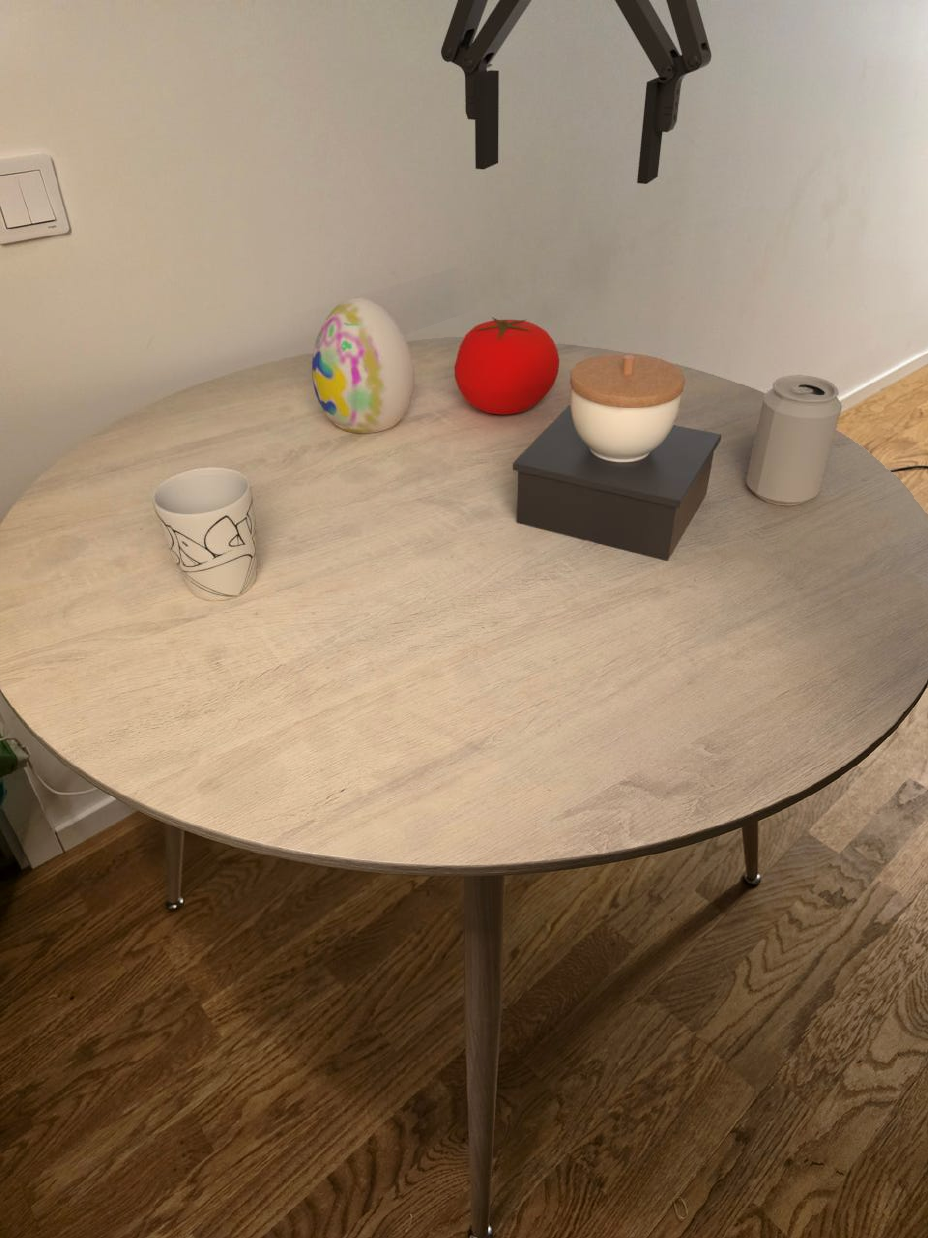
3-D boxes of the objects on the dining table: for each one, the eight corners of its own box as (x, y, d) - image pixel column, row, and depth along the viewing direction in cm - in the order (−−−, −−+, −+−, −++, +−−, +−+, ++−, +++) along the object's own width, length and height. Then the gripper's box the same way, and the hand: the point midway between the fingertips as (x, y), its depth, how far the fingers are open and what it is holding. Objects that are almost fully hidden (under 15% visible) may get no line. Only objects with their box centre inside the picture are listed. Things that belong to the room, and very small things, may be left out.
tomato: (436, 408, 111) (433, 322, 104) (506, 378, 118) (507, 296, 111) (505, 437, 104) (506, 347, 97) (573, 403, 111) (579, 317, 104)
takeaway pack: (711, 493, 93) (721, 434, 88) (670, 564, 83) (680, 501, 78) (565, 461, 99) (569, 404, 95) (511, 523, 89) (512, 462, 84)
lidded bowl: (543, 447, 87) (547, 356, 81) (613, 415, 92) (622, 327, 87) (626, 485, 81) (637, 390, 75) (696, 448, 86) (711, 357, 80)
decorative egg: (299, 419, 109) (281, 299, 100) (376, 390, 115) (366, 275, 106) (357, 452, 102) (344, 325, 93) (436, 419, 108) (431, 298, 99)
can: (832, 497, 92) (863, 390, 84) (781, 516, 89) (808, 407, 81) (779, 468, 97) (803, 364, 89) (729, 486, 94) (750, 380, 87)
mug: (149, 566, 84) (121, 475, 78) (227, 535, 88) (207, 446, 82) (202, 621, 77) (177, 526, 71) (284, 584, 81) (267, 491, 75)
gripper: (384, -187, 57) (404, 169, 70) (768, -220, 48) (708, 197, 61) (438, -178, 62) (447, 152, 75) (795, -206, 53) (734, 175, 66)
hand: (564, 173), depth 68 cm, fingers open, 13 cm apart
